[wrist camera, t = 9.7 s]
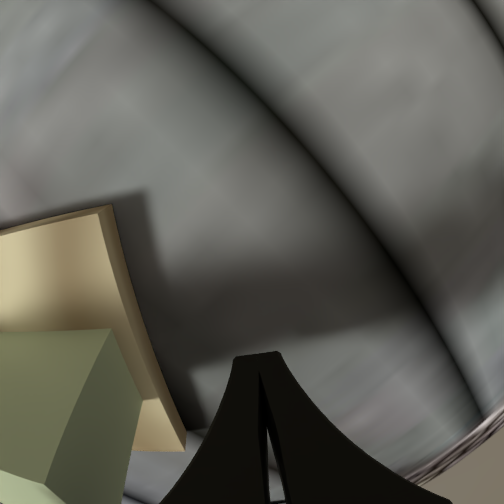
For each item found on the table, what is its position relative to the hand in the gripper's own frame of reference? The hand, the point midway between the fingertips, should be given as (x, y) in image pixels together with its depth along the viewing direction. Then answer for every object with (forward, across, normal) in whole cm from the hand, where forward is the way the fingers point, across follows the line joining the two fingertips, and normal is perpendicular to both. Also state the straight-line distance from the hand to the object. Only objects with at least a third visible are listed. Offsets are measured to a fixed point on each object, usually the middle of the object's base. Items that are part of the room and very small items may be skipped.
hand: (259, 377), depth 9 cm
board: (+2, +12, 0) cm, 12 cm away
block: (+1, +9, 0) cm, 9 cm away
